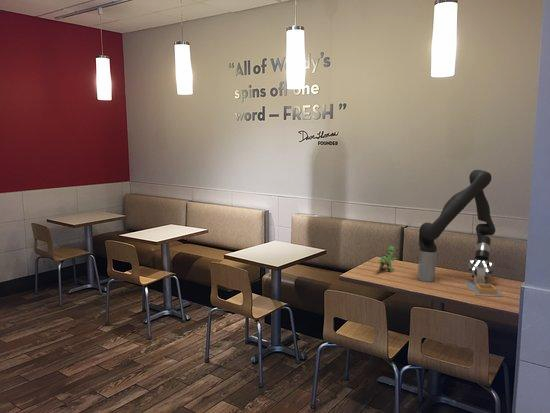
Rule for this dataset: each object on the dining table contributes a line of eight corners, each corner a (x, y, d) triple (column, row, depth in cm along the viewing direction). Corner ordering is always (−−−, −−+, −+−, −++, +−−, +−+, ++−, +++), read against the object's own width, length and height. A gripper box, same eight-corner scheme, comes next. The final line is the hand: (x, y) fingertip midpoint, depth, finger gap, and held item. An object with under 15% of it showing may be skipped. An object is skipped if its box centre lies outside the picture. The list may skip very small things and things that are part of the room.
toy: (395, 267, 314) (396, 244, 311) (398, 276, 293) (399, 252, 291) (376, 266, 315) (377, 243, 313) (378, 275, 294) (379, 251, 292)
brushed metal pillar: (476, 285, 274) (477, 268, 273) (473, 283, 279) (475, 265, 277) (484, 285, 274) (485, 268, 272) (482, 283, 278) (483, 266, 277)
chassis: (475, 295, 259) (475, 289, 259) (464, 283, 281) (464, 277, 280) (503, 297, 258) (503, 290, 257) (489, 284, 279) (490, 278, 279)
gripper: (469, 247, 283) (465, 272, 274) (496, 250, 277) (493, 276, 268) (469, 254, 289) (465, 279, 280) (496, 257, 282) (493, 283, 273)
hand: (479, 277), depth 274 cm, fingers closed on brushed metal pillar, 5 cm apart
